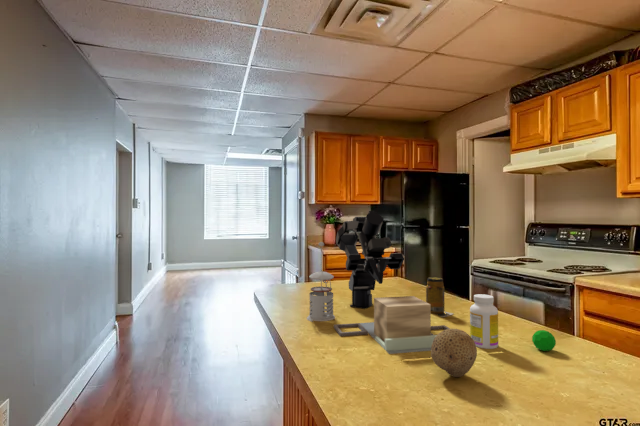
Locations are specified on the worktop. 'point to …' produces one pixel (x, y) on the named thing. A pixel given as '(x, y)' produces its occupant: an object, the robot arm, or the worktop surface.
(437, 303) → the condiment
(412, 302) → the oak block
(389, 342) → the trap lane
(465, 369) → the natural sponge
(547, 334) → the polyhedron
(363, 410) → the worktop surface
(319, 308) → the french press
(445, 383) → the worktop surface
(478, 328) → the supplement bottle
